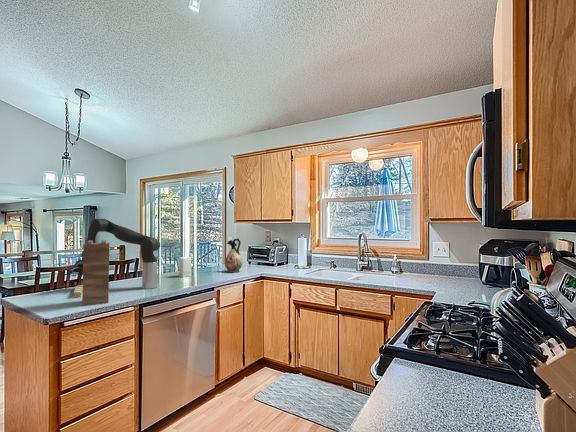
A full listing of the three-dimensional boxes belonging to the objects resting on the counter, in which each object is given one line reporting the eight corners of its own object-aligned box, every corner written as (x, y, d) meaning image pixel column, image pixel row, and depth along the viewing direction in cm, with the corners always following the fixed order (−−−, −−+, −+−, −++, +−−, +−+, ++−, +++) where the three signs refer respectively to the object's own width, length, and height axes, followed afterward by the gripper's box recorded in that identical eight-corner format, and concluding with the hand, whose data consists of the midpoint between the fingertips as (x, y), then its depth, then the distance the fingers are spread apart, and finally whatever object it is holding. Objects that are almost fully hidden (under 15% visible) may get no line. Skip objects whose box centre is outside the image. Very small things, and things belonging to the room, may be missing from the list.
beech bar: (77, 290, 209) (77, 284, 209) (83, 289, 211) (83, 284, 211) (73, 298, 186) (73, 292, 187) (80, 298, 188) (80, 292, 188)
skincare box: (187, 275, 268) (187, 256, 268) (191, 276, 264) (192, 257, 264) (178, 276, 261) (178, 257, 262) (182, 277, 257) (182, 258, 257)
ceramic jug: (222, 272, 282) (222, 238, 283) (227, 270, 298) (228, 237, 298) (241, 273, 280) (241, 238, 281) (245, 270, 295) (246, 238, 296)
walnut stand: (83, 300, 181) (85, 240, 182) (108, 298, 187) (109, 240, 187) (82, 305, 170) (83, 241, 171) (108, 302, 176) (109, 241, 177)
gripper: (68, 263, 211) (65, 266, 197) (94, 262, 218) (93, 265, 204) (68, 274, 211) (65, 278, 197) (94, 273, 218) (92, 277, 204)
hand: (79, 271), depth 200 cm, fingers open, 8 cm apart
